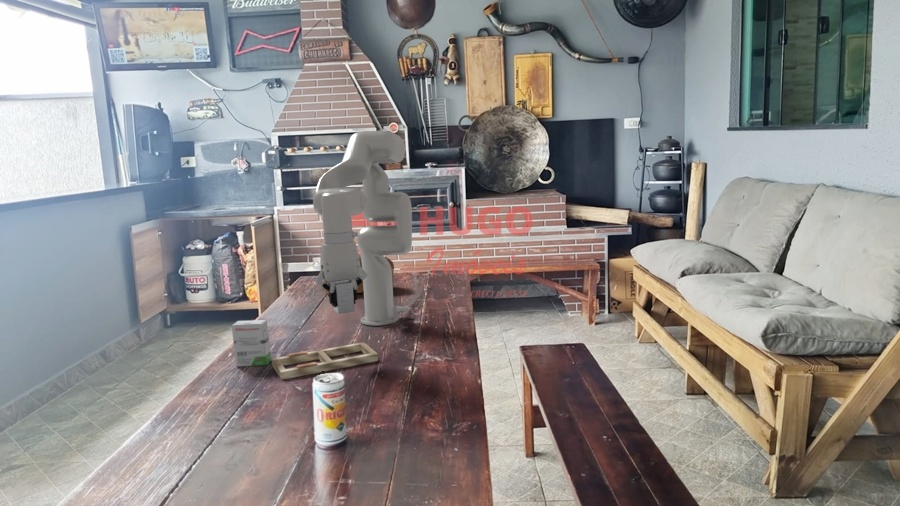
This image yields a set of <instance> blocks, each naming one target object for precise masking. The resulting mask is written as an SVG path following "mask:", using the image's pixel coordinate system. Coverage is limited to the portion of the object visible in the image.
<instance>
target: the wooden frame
mask: <svg viewBox="0 0 900 506" xmlns="http://www.w3.org/2000/svg"><path fill="white" fill-rule="evenodd" d="M357 352H361V353H362V354H360V355H359V354H358V355H355V356H349V357H344V358H339V359H338V358H337V359H334V360H332V359H331V357H336V356H343V355H347V354H353V353H357ZM315 360H318V361H320V362H316V361H315ZM309 361H313V362H309ZM378 361H379V354H378V353H377V351H375V350H374V349H373V348H371V347H370V346H369V345H368V344H366V343H365V342H364V341H362V342H357V343H352V344H346V345H339V346H334V347H329V348H324V349H318V350H312V351H307V350H303V351H299V352H298V351H297V352H292V353H288V354H287V355H285V356H279V357H275V358H271V364H272V365H271V366H272V367H273V369H274V370H275V372H276V373H277V375H278V377H279V378H280V380H286V379H287V380H288V379H292V378H293V379H294V378H298V377H302V376H303V377H304V376H308V375H312V374H313V375H314V374H318V373H323V372H322V371H324V372H329V371H334V370H339V369H344V368H349V367H354V366H359V365H363V364H368V363H375V362H378ZM305 362H308V363H305ZM300 363H302V364H300ZM293 364H297V365H296V367H291V368H285V366H289V365H293Z"/></svg>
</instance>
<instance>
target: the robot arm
mask: <svg viewBox="0 0 900 506" xmlns="http://www.w3.org/2000/svg"><path fill="white" fill-rule="evenodd" d="M405 155H406V146H405V142H404V140H403V138H402V137H401V136H400V135H399V134H396V133H394V132H393V131H389V130H370V131H369V130H368V131H367V130H366V131H364V130H363V131H358V132H355V133H353V134H352V135H351V136H350V138H349V139H348V143H347V145H346V148H345V150H344V153H343V157H342V160H341V162H339V163H338V164H336V165H334V166H333V167H332V168H330V169H329V170H328V171H326V172H325V173H324V174H323V175H321V177H320V178H319V180H318V181H317V185H316V188H315V191H314V195H313V197H312V198H313V199H312V205H313V209H314V211H315V212H316V214H317V215H319V216H321V217H322V218H321V219H322V226H323V227H322V228H323V240H324V242H323V243H322V244H321V246H320V257H319V258H320V259H319V260H320V262H319V263H320V268H319V269H320V270H319V271H320V272H319V273H318V275H317V277H316V278H315V281H314V282H315V284H316V285H318V286H320V287H322V288H324V289H326V290H327V291H329V294H328V299H329V304H330V305H331V306H332V307H333V308H334V307H337V299H336V293H335V290H334V288H335V282H336V281H343V280H349V281H351V282H352V283H353V296H354V305H356V304H357V303H356V301H358V298H357V297H358V295H357V294H358V293H356V289H357V288H358V286H359V285H360V283H361V282H362V281H363V288H364V292H363V300H364V302H363V303H364V315H363V316H361V318H360V322H361V324H363V325H366V326H372V327H373V326H375V327H379V326H380V327H381V326H387V325H392V324H394V323H397V322H398V321H399V320H400V313H408V312H409V307H408V306H407V305H405V306H401V305H399V306H398V305H394V304H395V303H394V290H393V288H394V285H393V286H392V269H391V266H390V264H389V262H388V261H387V260H386V258H385V257H386V256H402V255H403V256H404V255H407V254H409V253H410V252H411V250H412V243H413V242H412V240H413V232H412V231H413V226H412V225H413V220H412V219H413V213H412V212H413V211H412V209H413V207H412V201H411V198H410V195H408V194H407V193H405V192H401V191H398V192H397V191H396V192H395V191H394V192H393V191H392V192H391V191H389V189H390V187H389V185H390V180H389V179H390V178H389V175H388V174H387V173H386V171H385V170H384V169H383V167H381V166H380V165H379V164H397V163H401V162H403V160H404V158H405ZM360 182H362V189H360V188H356V187H350V186H353V185H356V184H358V183H360ZM347 187H348V188H347ZM361 214H362V215H363V218H364V220H366V221H368V222H372V223H373V222H374V223H385V222H387V223H390V222H393V223H396V225H369V226H364V227H363V228H361V229H360V230H359V231H358V232H357V231H354V230H353V222H352V220H353V219H352V216H358V215H361ZM355 238H356V240H357V241H354V239H355ZM356 242H357V243H356ZM357 245H358V246H357ZM359 255H360V256H361V262H362V268H361V266H360V260H359ZM324 279H325V280H326V281H327V282H328V285H327V284H326V283H324ZM355 279H356V280H355ZM326 290H325V291H326Z"/></svg>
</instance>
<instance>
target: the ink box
mask: <svg viewBox="0 0 900 506" xmlns="http://www.w3.org/2000/svg"><path fill="white" fill-rule="evenodd" d="M231 332H232V339H233V340H232V341H233V348H234V351H233V352H234V358H235V366H236V367H237V368H238V367H256V366H257V367H259V366H260V367H261V366H268V365H269V363H270V362H272V354H271V344H270V337H269V336H270V335H269V327H268V319H260V320H259V319H253V320H237V321H235V323H233V324H232V325H231Z"/></svg>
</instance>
